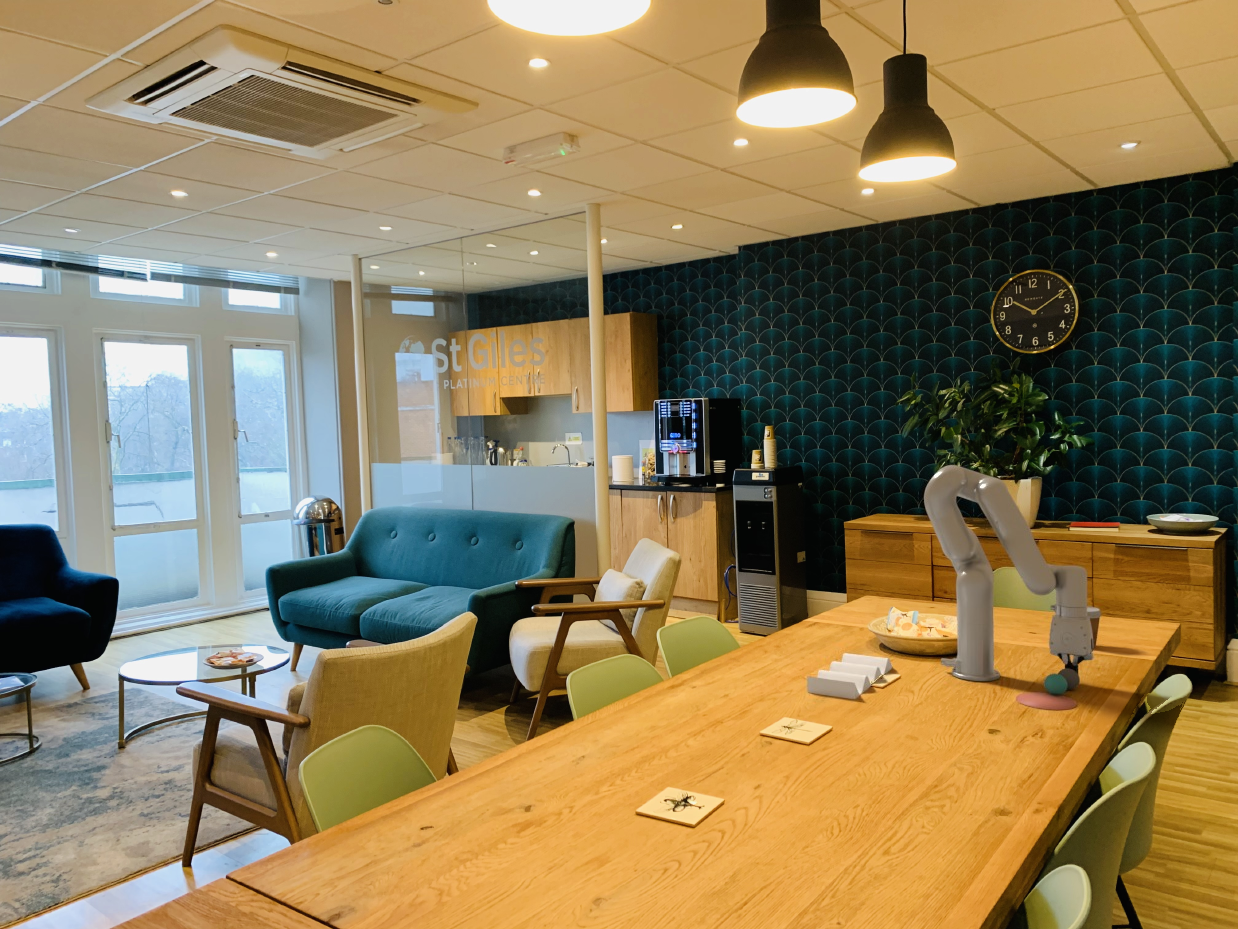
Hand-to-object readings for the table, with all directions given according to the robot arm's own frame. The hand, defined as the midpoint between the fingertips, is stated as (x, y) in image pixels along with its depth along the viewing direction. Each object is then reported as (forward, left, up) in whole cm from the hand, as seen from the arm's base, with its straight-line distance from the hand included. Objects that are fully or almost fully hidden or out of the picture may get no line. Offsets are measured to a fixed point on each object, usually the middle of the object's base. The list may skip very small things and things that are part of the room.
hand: (1071, 678), depth 242 cm
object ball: (-4, -12, +1) cm, 13 cm away
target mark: (-7, -19, -2) cm, 20 cm away
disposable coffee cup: (+6, +45, -2) cm, 45 cm away
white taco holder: (-56, -15, -3) cm, 58 cm away
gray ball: (-1, -6, +1) cm, 6 cm away
